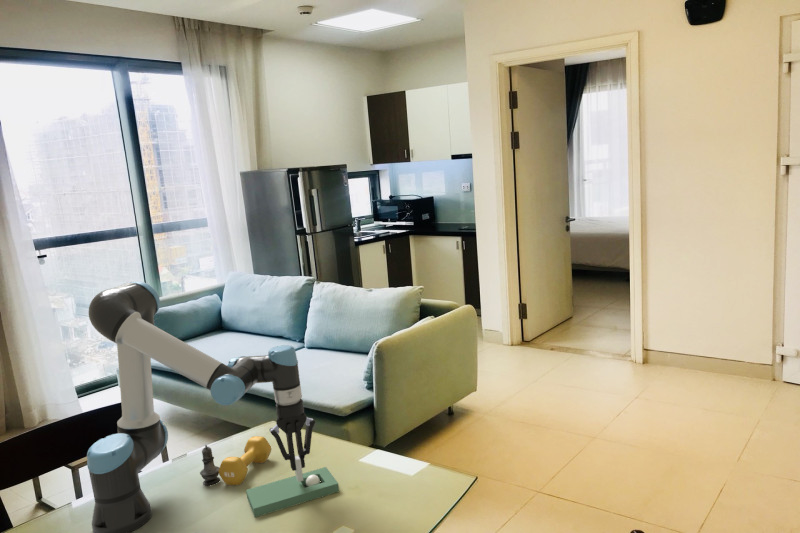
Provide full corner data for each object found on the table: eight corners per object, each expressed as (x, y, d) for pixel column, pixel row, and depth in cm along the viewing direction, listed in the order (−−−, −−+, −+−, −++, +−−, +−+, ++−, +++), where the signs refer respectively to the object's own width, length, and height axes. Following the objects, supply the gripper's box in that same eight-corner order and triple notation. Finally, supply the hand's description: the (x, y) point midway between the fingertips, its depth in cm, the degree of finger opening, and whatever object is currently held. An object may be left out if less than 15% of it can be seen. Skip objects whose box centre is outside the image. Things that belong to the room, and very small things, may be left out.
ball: (308, 492, 176) (307, 479, 175) (304, 487, 179) (304, 473, 179) (321, 490, 177) (321, 476, 177) (317, 484, 181) (317, 471, 180)
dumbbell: (243, 488, 184) (239, 462, 182) (217, 486, 187) (213, 461, 185) (275, 458, 201) (272, 435, 200) (251, 457, 204) (247, 434, 203)
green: (254, 517, 166) (253, 508, 166) (247, 497, 177) (245, 489, 177) (339, 491, 175) (338, 483, 175) (327, 474, 186) (326, 466, 186)
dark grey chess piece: (202, 488, 186) (196, 450, 184) (200, 480, 191) (194, 443, 190) (222, 482, 188) (217, 445, 186) (220, 475, 194) (214, 438, 192)
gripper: (268, 410, 167) (280, 491, 171) (314, 399, 172) (325, 478, 176) (263, 402, 174) (274, 480, 178) (308, 391, 179) (318, 467, 182)
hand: (299, 479), depth 177 cm, fingers closed
